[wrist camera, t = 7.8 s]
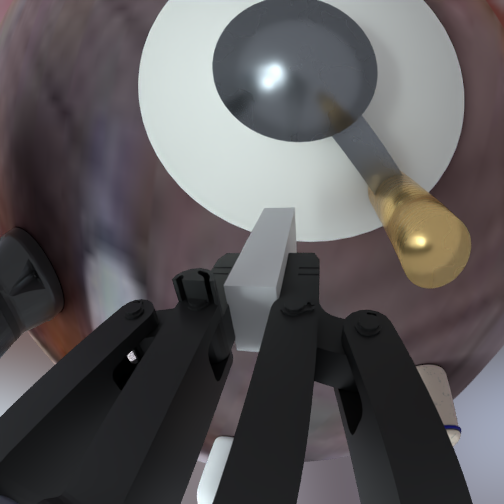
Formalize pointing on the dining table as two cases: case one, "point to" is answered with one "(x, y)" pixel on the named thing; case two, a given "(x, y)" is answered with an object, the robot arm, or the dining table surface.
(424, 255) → the lever
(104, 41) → the dining table surface
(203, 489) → the milk bottle
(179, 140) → the dial plate
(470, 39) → the dining table surface
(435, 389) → the teacup with lid
